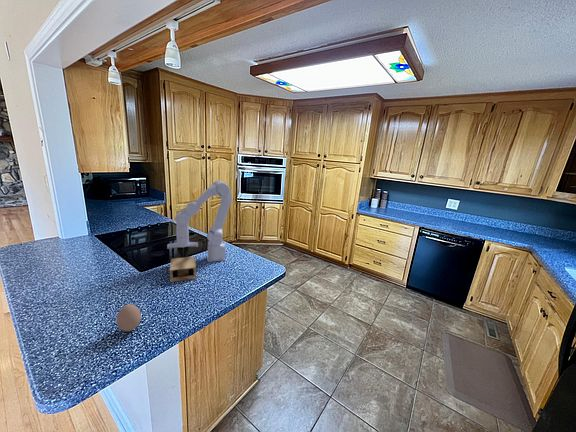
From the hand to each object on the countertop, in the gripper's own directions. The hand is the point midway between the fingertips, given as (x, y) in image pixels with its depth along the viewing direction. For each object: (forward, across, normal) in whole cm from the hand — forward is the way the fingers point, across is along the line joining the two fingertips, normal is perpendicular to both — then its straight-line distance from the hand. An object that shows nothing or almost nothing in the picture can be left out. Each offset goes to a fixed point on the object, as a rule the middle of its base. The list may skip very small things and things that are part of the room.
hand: (183, 259), depth 123 cm
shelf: (+2, 0, +11) cm, 12 cm away
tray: (+2, 0, +8) cm, 8 cm away
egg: (+2, +16, +45) cm, 48 cm away
